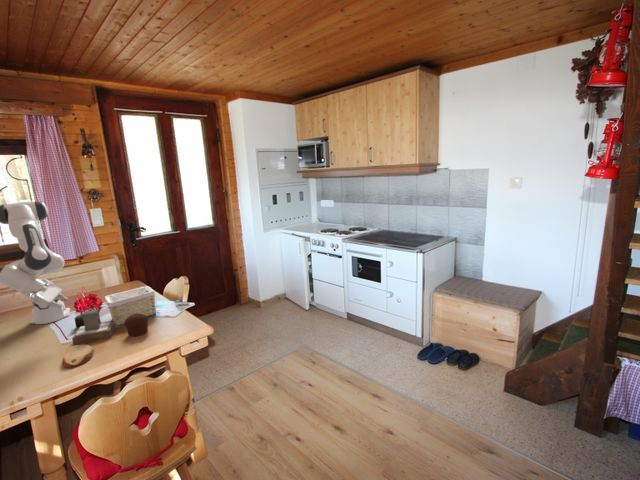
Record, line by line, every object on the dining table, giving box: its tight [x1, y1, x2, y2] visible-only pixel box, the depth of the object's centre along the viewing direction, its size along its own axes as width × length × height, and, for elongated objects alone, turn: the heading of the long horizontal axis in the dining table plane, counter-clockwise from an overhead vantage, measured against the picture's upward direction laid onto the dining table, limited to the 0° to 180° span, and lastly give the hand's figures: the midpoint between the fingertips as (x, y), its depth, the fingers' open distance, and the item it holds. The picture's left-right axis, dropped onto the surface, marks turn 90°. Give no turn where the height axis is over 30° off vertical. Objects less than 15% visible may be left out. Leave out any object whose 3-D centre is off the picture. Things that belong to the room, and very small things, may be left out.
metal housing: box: [81, 308, 102, 331], centre depth 175 cm, size 5×6×9 cm
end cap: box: [74, 314, 84, 329], centre depth 190 cm, size 10×7×7 cm
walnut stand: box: [71, 320, 116, 346], centre depth 176 cm, size 14×16×5 cm
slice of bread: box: [62, 343, 95, 369], centre depth 156 cm, size 18×18×4 cm
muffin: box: [123, 313, 150, 338], centre depth 176 cm, size 12×11×10 cm
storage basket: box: [104, 285, 157, 326], centre depth 197 cm, size 24×16×15 cm
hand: (64, 303), depth 169 cm, fingers open, 8 cm apart
